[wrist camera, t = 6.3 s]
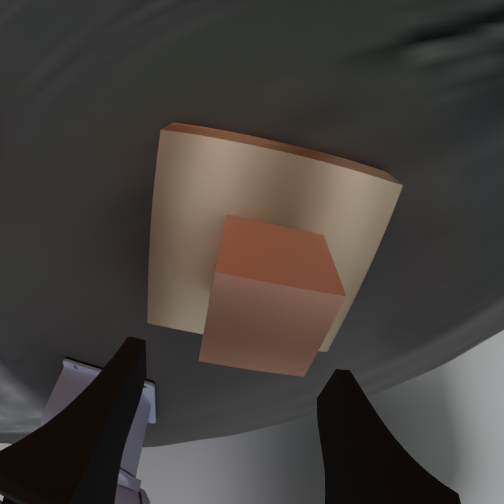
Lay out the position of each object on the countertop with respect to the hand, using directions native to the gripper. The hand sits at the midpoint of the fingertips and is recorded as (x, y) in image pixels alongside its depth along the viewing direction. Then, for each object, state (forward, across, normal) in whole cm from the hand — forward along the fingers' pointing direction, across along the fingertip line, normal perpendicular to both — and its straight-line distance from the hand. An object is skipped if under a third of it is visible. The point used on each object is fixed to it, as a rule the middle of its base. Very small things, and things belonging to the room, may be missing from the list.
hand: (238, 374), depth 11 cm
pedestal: (+10, -1, -1) cm, 10 cm away
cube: (+7, -1, -1) cm, 7 cm away
